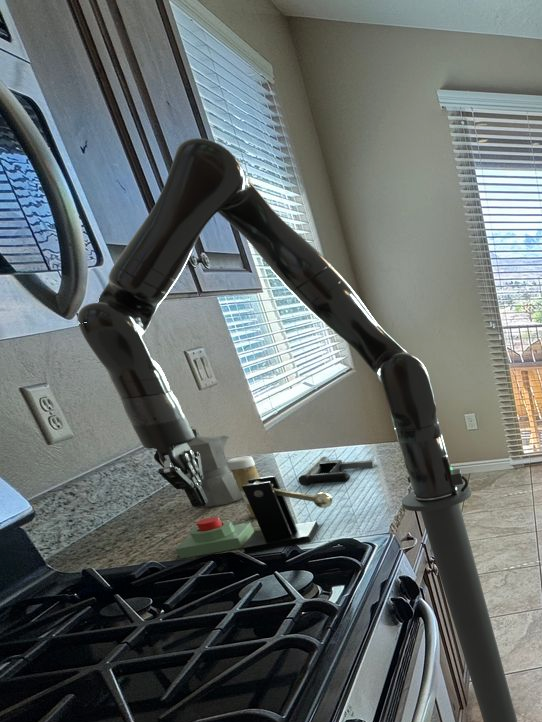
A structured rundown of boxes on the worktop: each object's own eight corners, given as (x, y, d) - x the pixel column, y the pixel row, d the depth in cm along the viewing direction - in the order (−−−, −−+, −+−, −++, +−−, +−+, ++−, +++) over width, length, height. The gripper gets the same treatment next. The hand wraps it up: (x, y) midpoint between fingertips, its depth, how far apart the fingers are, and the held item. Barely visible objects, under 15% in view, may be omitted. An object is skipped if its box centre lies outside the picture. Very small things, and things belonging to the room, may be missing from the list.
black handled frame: (376, 452, 166) (312, 456, 161) (361, 471, 149) (290, 477, 144) (378, 462, 167) (315, 467, 162) (365, 483, 150) (294, 489, 145)
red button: (225, 523, 116) (221, 515, 115) (219, 529, 113) (215, 521, 112) (203, 527, 115) (199, 519, 114) (197, 533, 112) (193, 525, 111)
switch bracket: (318, 526, 122) (296, 469, 116) (310, 541, 115) (286, 482, 109) (257, 536, 118) (232, 479, 113) (245, 553, 111) (217, 492, 105)
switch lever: (332, 506, 119) (334, 492, 118) (329, 511, 116) (332, 497, 116) (254, 492, 113) (257, 477, 112) (250, 497, 110) (252, 482, 109)
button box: (254, 531, 121) (246, 514, 119) (242, 547, 113) (233, 529, 112) (196, 541, 117) (188, 524, 116) (180, 559, 110) (170, 540, 108)
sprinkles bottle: (256, 519, 127) (231, 462, 122) (247, 516, 129) (222, 460, 124) (278, 512, 131) (255, 456, 125) (269, 509, 133) (245, 454, 127)
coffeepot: (240, 489, 148) (210, 421, 140) (263, 492, 144) (233, 423, 137) (170, 511, 135) (133, 437, 127) (193, 515, 132) (157, 440, 124)
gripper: (169, 423, 100) (213, 512, 108) (196, 409, 111) (234, 491, 119) (115, 429, 97) (163, 520, 105) (148, 414, 108) (190, 498, 116)
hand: (201, 505), depth 112 cm, fingers closed
